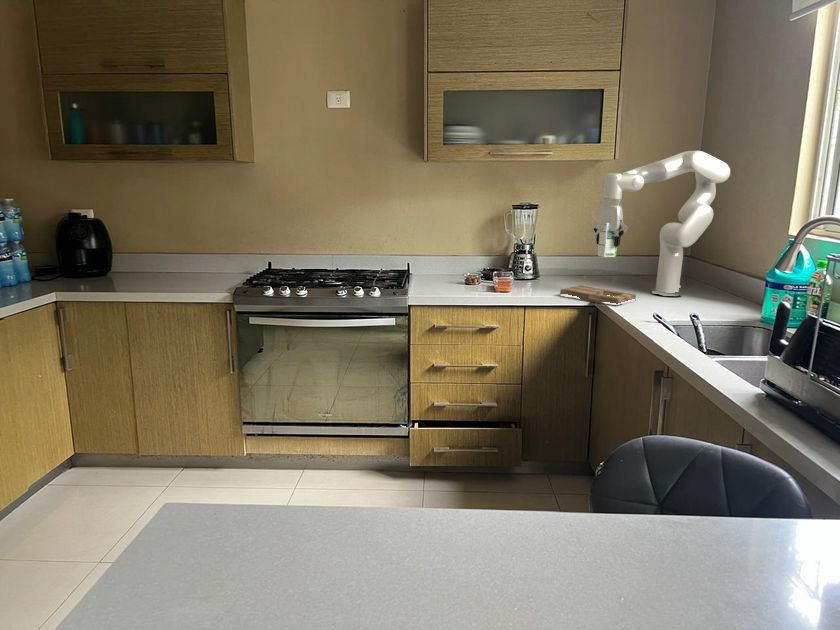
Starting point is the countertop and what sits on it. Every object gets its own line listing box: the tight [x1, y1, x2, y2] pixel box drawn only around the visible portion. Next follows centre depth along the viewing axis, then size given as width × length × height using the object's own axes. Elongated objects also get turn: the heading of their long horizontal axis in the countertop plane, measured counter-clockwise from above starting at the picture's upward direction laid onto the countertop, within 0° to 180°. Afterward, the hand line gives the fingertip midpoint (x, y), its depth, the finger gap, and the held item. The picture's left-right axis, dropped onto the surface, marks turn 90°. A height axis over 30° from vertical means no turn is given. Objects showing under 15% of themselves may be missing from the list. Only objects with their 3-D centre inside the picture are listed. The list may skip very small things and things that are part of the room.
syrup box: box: [597, 223, 618, 258], centre depth 262 cm, size 6×6×14 cm
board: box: [559, 284, 637, 305], centre depth 258 cm, size 16×26×3 cm, turn 45°
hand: (607, 244), depth 262 cm, fingers closed on syrup box, 7 cm apart
